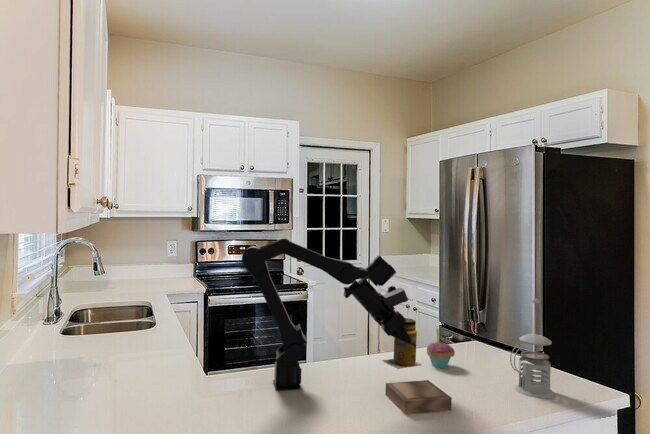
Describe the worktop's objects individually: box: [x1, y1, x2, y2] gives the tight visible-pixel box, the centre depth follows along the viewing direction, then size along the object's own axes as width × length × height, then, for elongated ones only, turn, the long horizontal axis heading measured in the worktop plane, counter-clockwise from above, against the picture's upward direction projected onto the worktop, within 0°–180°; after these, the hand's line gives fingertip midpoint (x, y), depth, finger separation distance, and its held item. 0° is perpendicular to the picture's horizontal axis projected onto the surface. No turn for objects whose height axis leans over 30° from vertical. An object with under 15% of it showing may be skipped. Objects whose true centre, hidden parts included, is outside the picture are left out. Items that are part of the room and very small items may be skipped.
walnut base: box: [385, 379, 453, 415], centre depth 112 cm, size 12×12×3 cm
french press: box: [509, 298, 555, 399], centre depth 122 cm, size 10×12×25 cm
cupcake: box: [426, 327, 456, 369], centre depth 142 cm, size 9×8×12 cm
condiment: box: [381, 317, 423, 370], centre depth 124 cm, size 7×8×12 cm
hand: (407, 339), depth 125 cm, fingers closed on condiment, 6 cm apart
